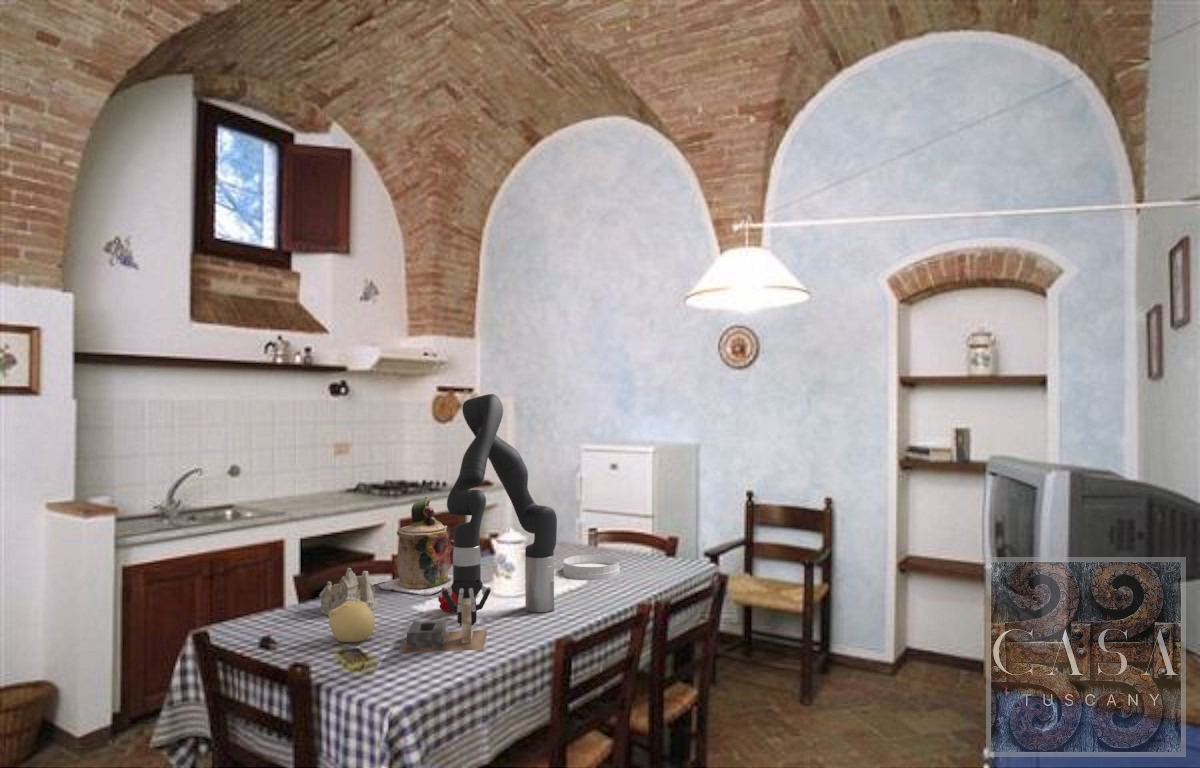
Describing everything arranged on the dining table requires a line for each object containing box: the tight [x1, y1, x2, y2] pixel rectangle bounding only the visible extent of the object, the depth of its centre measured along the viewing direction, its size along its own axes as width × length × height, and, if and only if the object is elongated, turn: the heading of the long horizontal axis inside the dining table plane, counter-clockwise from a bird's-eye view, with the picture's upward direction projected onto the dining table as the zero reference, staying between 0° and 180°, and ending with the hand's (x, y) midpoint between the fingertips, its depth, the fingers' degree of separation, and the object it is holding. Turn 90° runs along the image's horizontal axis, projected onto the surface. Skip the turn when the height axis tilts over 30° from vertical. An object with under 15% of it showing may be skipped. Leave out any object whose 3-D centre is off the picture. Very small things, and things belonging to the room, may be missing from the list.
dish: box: [562, 554, 621, 581], centre depth 287 cm, size 22×22×5 cm
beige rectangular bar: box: [461, 598, 474, 643], centre depth 204 cm, size 2×5×12 cm, turn 5°
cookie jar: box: [377, 495, 454, 597], centre depth 271 cm, size 25×25×32 cm
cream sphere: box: [327, 601, 376, 643], centre depth 210 cm, size 11×12×11 cm
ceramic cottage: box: [318, 567, 380, 616], centre depth 240 cm, size 16×16×15 cm
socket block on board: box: [398, 620, 488, 653], centre depth 203 cm, size 22×16×6 cm
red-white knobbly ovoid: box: [437, 583, 480, 613], centre depth 237 cm, size 9×11×15 cm
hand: (467, 624), depth 204 cm, fingers closed on beige rectangular bar, 2 cm apart
